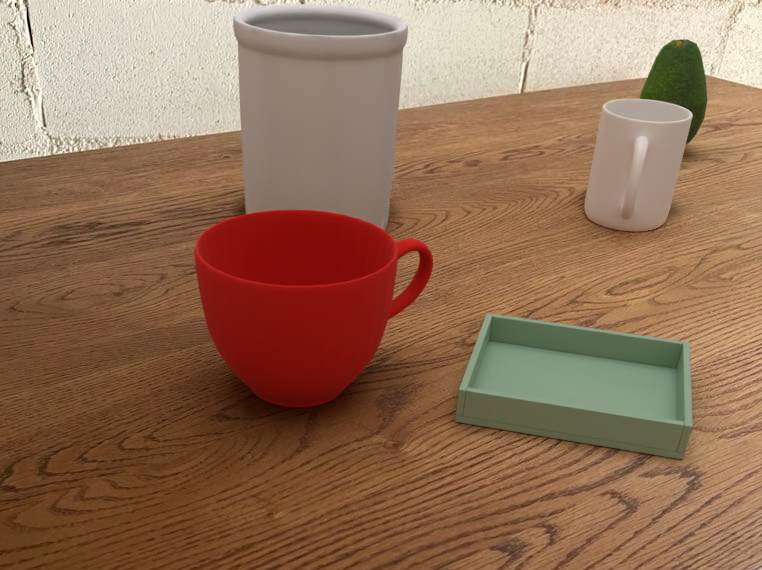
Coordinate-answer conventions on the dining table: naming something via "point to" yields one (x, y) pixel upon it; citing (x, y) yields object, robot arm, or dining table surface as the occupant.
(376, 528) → the dining table surface
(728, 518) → the dining table surface
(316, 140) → the utensil holder
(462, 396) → the sage green tray
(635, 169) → the cup
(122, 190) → the dining table surface
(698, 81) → the avocado
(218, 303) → the ceramic cup
